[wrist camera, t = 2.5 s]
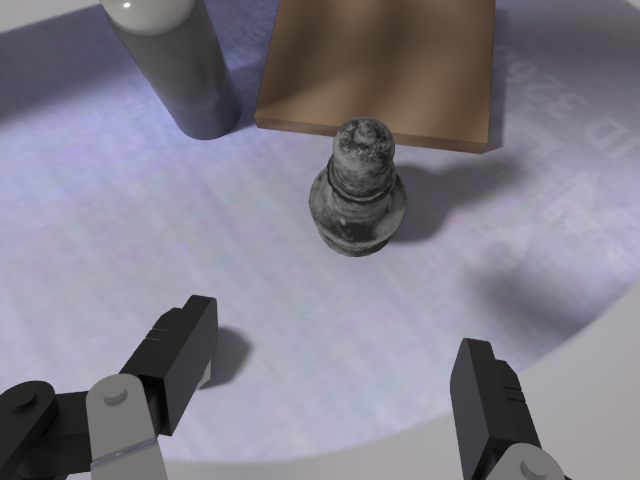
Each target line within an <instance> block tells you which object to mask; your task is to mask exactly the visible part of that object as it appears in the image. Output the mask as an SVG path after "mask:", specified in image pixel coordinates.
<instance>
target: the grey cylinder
mask: <svg viewBox="0 0 640 480" xmlns="http://www.w3.org/2000/svg"><path fill="white" fill-rule="evenodd" d="M99 1H100V2H101V4H102V5H103V7H104V8H105V10H106V16H107V19H108V21H109V23H110V25H111V26H112V28H113V29H114V31H115V32H116V34H117V35H118V37H119V38H120V40H121V41H122V43H123V44H124V46H125V47H126V49H127V50H128V52H129V53H130V55H131V56H132V58H133V59H134V61H135V62H136V64H137V65H138V67H139V68H140V70H141V71H142V73H143V74H144V76H145V77H146V79H147V80H148V82H149V83H150V85H151V86H152V88H153V89H154V91H155V92H156V94H157V95H158V97H159V98H160V100H161V101H162V103H163V104H164V106H165V107H166V109H167V110H168V112H169V113H170V114H171V116H172V117H173V119H174V120H175V122H176V123H177V125H178V126H179V128H180V129H181V130H182V131H183V132H184V133H185V134H186V135H188V136H190V137H192V138H195V139H199V140H211V139H215V138H218V137H221V136H223V135H225V134H226V133H228V132H229V131H230V130H231V129H232V128H233V127H234V126H235V125H236V123H237V122H238V120H239V118H240V114H241V101H240V98H239V95H238V93H237V90H236V87H235V85H234V82H233V79H232V76H231V74H230V71H229V68H228V66H227V63H226V60H225V58H224V55H223V52H222V50H221V47H220V44H219V41H218V39H217V36H216V33H215V31H214V28H213V25H212V23H211V20H210V17H209V14H208V12H207V9H206V6H205V4H204V1H203V0H99Z"/></svg>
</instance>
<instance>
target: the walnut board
mask: <svg viewBox="0 0 640 480" xmlns="http://www.w3.org/2000/svg"><path fill="white" fill-rule="evenodd" d="M494 17H495V0H280V2H279V7H278V11H277V16H276V20H275V25H274V29H273V33H272V38H271V42H270V47H269V51H268V56H267V60H266V65H265V69H264V74H263V78H262V82H261V87H260V91H259V96H258V100H257V105H256V109H255V114H254V118H255V121H256V124H257V127H258V128H264V129H272V130H281V131H289V132H298V133H306V134H315V135H323V136H332V137H335V135H336V133H337V131H338V129H339V128H340V127H341V125H343V124H344V123H345V122H346V121H348V120H350V119H353V118H356V117H371V118H374V119H377V120H379V121H380V122H382V123H384V124H385V125H386V126H387V127H388V128H389V130H390V131H391V133H392V135H393V139H394V143H395V144H400V145H408V146H417V147H425V148H434V149H442V150H451V151H459V152H468V153H476V154H481V152H482V151H483V149H484V148H485V146H486V145H487V143H488V126H489V108H490V90H491V72H492V54H493V35H494Z"/></svg>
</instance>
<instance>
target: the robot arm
mask: <svg viewBox="0 0 640 480" xmlns="http://www.w3.org/2000/svg"><path fill="white" fill-rule="evenodd" d="M217 341H218V317H217V301H216V299H215V298H212V297H206V296H199V295H192V296H191V297H190V298H189V299H188V301H187V302H186V304H185V305H184V307H183V308H182V309H181V308H175V307H174V308H172V309H171V310H169V311H168V312H166V313H165V314H163V315H162V316H161V317H160V318H159V319H158V321H157V322H156V323H155V325H154V326H153V327H152V330H150V332H149V333H148V334H147V336H146V338H145V339H144V340H143V341H142V342H141V344H140V345H139V346H138V348H137V349H136V351H135V352H134V353H133V355H132V356H131V357H130V359H129V360H128V361H127V363H126V364H125V365H124V367H123V368H122V370H121V371H120V372H119V373H118V374H115V375H111V376H108V377H106V378H104V379H102V380H100V381H99V382H97V383H96V384H95V385H94V386H93V387H92V388H91V389H90V390H89V391H83V392H74V393H64V394H55V391H54V389H53V387H52V386H51V385H50V384H49V383H47V382H44V381H28V382H24V383H21V384H18V385H16V386H14V387H12V388H10V389H8V390H6V391H5V392H4V393H2V394H1V395H0V480H66V478H67V476H68V475H69V474H75V473H83V472H90V471H91V478H92V480H168V478H167V474H166V471H165V466H164V462H163V458H162V455H161V451H160V447H159V443H158V440H157V437H158V435H159V434H161V435H167V436H172V435H173V433H174V431H175V429H176V427H177V425H178V423H179V421H180V419H181V417H182V415H183V413H184V411H185V409H186V407H187V405H188V403H189V401H190V399H191V397H192V395H193V393H194V391H195V389H196V387H197V385H198V383H199V381H200V379H201V377H202V375H203V373H204V371H205V369H206V367H207V365H208V363H209V361H210V359H211V358H212V356H213V354H214V351H215V349H216V345H217ZM521 390H522V389H521V386H520V383H519V380H518V377H517V374H516V373H515V372H514V371H513V370H512V368H511V367H510V366H509V365H508V364H507V362H506V361H503V360H496V359H495V357H494V354H493V350H492V347H491V344H490V342H488V341H483V340H476V339H470V338H463V340H462V342H461V345H460V348H459V351H458V354H457V358H456V361H455V364H454V367H453V370H452V374H451V380H450V394H451V400H452V407H453V413H454V420H455V426H456V432H457V439H458V445H459V452H460V458H461V464H462V471H463V478H464V480H572V479H570V478H568V477H567V476H565V475H564V474H563V471H562V470H561V468H560V466H559V465H558V463H557V462H556V461H555V460H554V459H553V458H552V457H551V456H550V455H549V454H548V453H546V452H545V451H544V450H542V447H541V444H540V442H539V439H538V436H537V433H536V430H535V427H534V424H533V421H532V418H531V415H530V412H529V409H528V407H527V404H526V403H525V398H524V395H523V392H521Z"/></svg>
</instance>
